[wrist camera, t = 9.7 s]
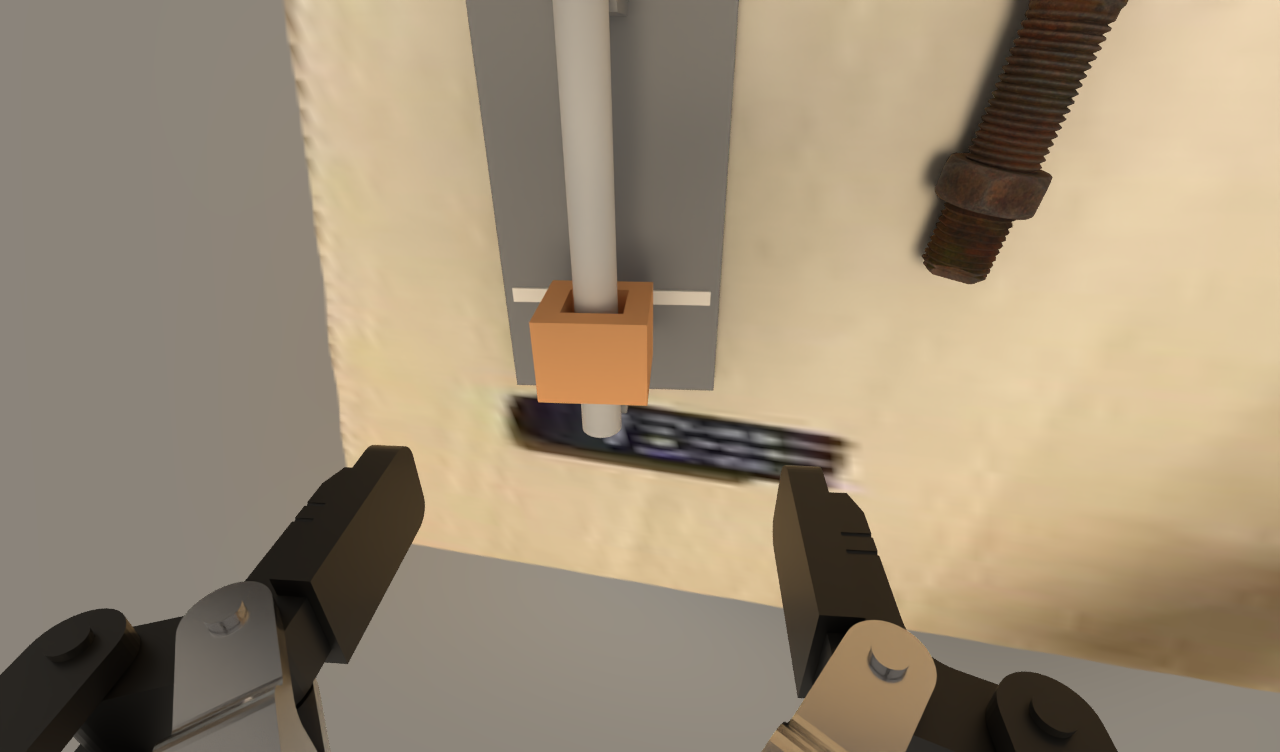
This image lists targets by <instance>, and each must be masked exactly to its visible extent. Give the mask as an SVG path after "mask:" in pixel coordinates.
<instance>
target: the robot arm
mask: <svg viewBox="0 0 1280 752" xmlns="http://www.w3.org/2000/svg"><path fill="white" fill-rule="evenodd" d="M424 511H425V501H424V496H423V492H422V488H421V484H420V480H419V477H418V473H417V469H416V465H415V462H414V458H413V454H412V452H411V450H410V449H409V448H408V447H406V446H385V445H371V446H369V447H368V448H367V449H366V450H365V452H364V453H363V454H362V456H361V457H360V458H359V460H358V461H357V462H356V464H355V465H354V466H353V468H347V467H345V468H343V469H342V470H340V471H339V472H338V473H336V474H335V475H333V476H332V477H331V478H329V479H328V480H327V481H325V482H324V483H322V485H321V486H320V487H319V488H318V490H317V491H316V492H315V493H314V495H313V496H312V497H311V498H310V500H309V501H308V504H307V506H304V507H303V508H302V510H301V511H300V512H299V513H298V515H297V516H296V517H295V522H291V524H290V525H289V526H288V528H287V529H286V530H285V531H284V532H283V534H282V535H281V536H280V537H279V539H278V540H277V541H276V543H275V544H274V545H273V546H272V548H271V549H270V550H269V552H268V553H267V554H266V555H265V557H264V558H263V559H262V560H261V561H260V563H259V564H258V565H257V567H256V568H255V569H254V570H253V572H252V573H251V574H250V575H249V577H248V578H247V579H246V580H245V581H244V582H238V583H233V584H230V585H227V586H224V587H222V588H219V589H217V590H215V591H214V592H212V593H210V594H208V595H207V596H205V597H204V598H202V599H201V600H199V601H198V602H197V603H196V604H195V605H193V607H192V608H191V609H189V610H188V612H187V613H186V614H185V615H184V616H182V617H177V618H172V619H168V620H163V621H158V622H153V623H149V624H144V625H139V626H134V627H132V626H131V624H130V623H129V622H128V620H127V619H126V617H125V616H124V615H123V613H121V612H120V611H118V610H115V609H107V608H106V609H96V610H91V611H87V612H84V613H81V614H78V615H76V616H73V617H71V618H69V619H67V620H65V621H63V622H61V623H59V624H57V625H55V626H54V627H52V628H51V629H49V630H48V631H46V632H45V633H44V634H42V635H41V636H40V637H39V638H37V639H36V640H35V641H34V642H33V643H32V644H31V645H29V647H28V648H27V649H25V651H24V652H23V653H22V654H21V655H20V656H19V657H18V658H17V659H16V660H15V661H14V662H13V663H12V664H11V665H10V666H9V667H8V668H7V669H6V670H5V671H4V672H3V673H2V674H1V675H0V752H61V751H62V750H63V748H64V747H65V746H66V745H67V743H68V742H69V741H70V740H71V739H72V737H74V738H75V739H76V740H77V741H78V742H79V743H80V745H79V747H78V748H77V749H76V750H75V752H331V751H330V746H329V740H328V735H327V729H326V724H325V719H324V713H323V707H322V702H321V696H320V691H319V686H318V682H317V680H316V676H317V674H318V673H319V671H320V669H321V667H322V666H323V664H324V662H327V663H341V664H348V662H349V660H350V659H351V657H352V655H353V653H354V651H355V649H356V647H357V645H358V644H359V641H360V640H361V638H362V636H363V634H364V632H365V630H366V628H367V626H368V625H369V623H370V621H371V619H372V617H373V615H374V613H375V611H376V610H377V608H378V606H379V604H380V602H381V600H382V598H383V596H384V594H385V592H386V591H387V588H388V587H389V585H390V583H391V581H392V579H393V577H394V576H395V574H396V572H397V570H398V568H399V566H400V564H401V562H402V560H403V559H404V557H405V555H406V553H407V551H408V549H409V547H410V545H411V544H412V542H413V540H414V538H415V536H416V534H417V532H418V530H419V528H420V526H421V524H422V521H423V517H424ZM773 546H774V553H775V559H776V565H777V572H778V578H779V584H780V590H781V596H782V603H783V609H784V614H785V621H786V627H787V634H788V640H789V645H790V652H791V658H792V665H793V671H794V677H795V683H796V689H797V695H798V698H805V699H804V700H803V702H802V704H801V705H800V707H799V708H798V710H797V711H796V713H795V715H794V716H793V717H792V719H791V720H790V721H789V722H788V723H786V722H783V723H782V724H781V725H780V726H779V727H778V728H777V730H776V731H775V732H774V734H773V735H772V737H771V738H770V740H769V741H768V743H767V744H766V746H765V748H764V749H763V750H762V752H1118V751H1117V749H1116V748H1115V746H1114V744H1113V742H1112V740H1111V738H1110V736H1109V734H1108V733H1107V731H1106V729H1105V727H1104V725H1103V723H1102V722H1101V720H1100V719H1099V717H1098V715H1097V714H1096V713H1095V711H1094V710H1093V709H1092V708H1091V707H1090V706H1089V704H1088V703H1087V702H1086V701H1085V700H1084V699H1082V698H1081V697H1080V696H1079V695H1078V694H1077V693H1075V692H1074V691H1073V690H1071V689H1070V688H1068V687H1067V686H1065V685H1064V684H1062V683H1060V682H1058V681H1057V680H1054V679H1052V678H1050V677H1047V676H1044V675H1041V674H1038V673H1033V672H1016V673H1013V674H1010V675H1008V676H1006V677H1005V678H1004V679H1003V680H1002V681H1001V682H1000V684H999V685H997V684H994V683H992V682H989V681H986V680H983V679H981V678H978V677H975V676H972V675H969V674H966V673H963V672H961V671H958V670H955V669H953V668H951V667H948V666H946V665H944V664H942V663H941V662H939V661H937V660H936V659H934V658H933V657H931V655H930V653H929V652H928V650H927V649H926V647H925V646H924V645H923V644H922V643H921V642H920V641H919V640H918V639H917V638H916V637H915V636H914V635H912V634H911V633H909V632H908V631H907V630H906V628H905V626H904V624H903V621H902V619H901V616H900V613H899V610H898V607H897V605H896V602H895V599H894V596H893V593H892V591H891V588H890V585H889V582H888V579H887V577H886V574H885V571H884V568H883V565H882V562H881V560H880V557H879V556H878V555H877V548H876V546H875V543H874V540H873V538H871V532H870V529H869V526H868V523H867V520H866V517H865V515H864V512H863V511H862V510H861V509H860V508H859V507H858V505H857V504H856V503H855V502H854V501H853V500H852V499H851V498H850V496H849V495H848V494H847V493H831V492H829V491H828V488H827V484H826V481H825V478H824V474H823V471H822V469H821V468H820V467H812V466H790V465H784V466H783V468H782V471H781V476H780V482H779V488H778V494H777V500H776V506H775V512H774V518H773Z"/></svg>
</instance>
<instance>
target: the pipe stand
mask: <svg viewBox="0 0 1280 752" xmlns="http://www.w3.org/2000/svg"><path fill="white" fill-rule="evenodd" d="M738 4H739V0H466V6H467V14H468V21H469V28H470V36H471V43H472V51H473V58H474V66H475V73H476V80H477V88H478V95H479V103H480V110H481V118H482V125H483V132H484V140H485V147H486V155H487V162H488V170H489V177H490V184H491V192H492V199H493V207H494V214H495V222H496V229H497V236H498V244H499V251H500V259H501V266H502V274H503V281H504V288H505V296H506V303H507V311H508V318H509V326H510V333H511V340H512V348H513V355H514V363H515V370H516V378H517V385H536V379H535V370H534V362H533V353H532V344H531V336H530V327H529V322H530V320H531V318H532V316H533V315H534V313H535V311H536V309H537V307H538V306H539V304H540V302H541V300H542V299H543V297H544V295H545V293H546V291H547V290H548V288H549V286H550V284H551V283H552V281H553V280H569V281H572V283H573V297H574V311H575V313H603V314H618V296H617V281H626V282H653V358H652V367H651V376H650V385H649V389H678V390H712V391H713V388H714V372H715V357H716V342H717V326H718V311H719V296H720V280H721V265H722V250H723V234H724V219H725V204H726V188H727V173H728V158H729V142H730V127H731V112H732V96H733V81H734V66H735V50H736V35H737V20H738ZM581 409H582V423H583V430H584V432H585V433H586V434H588V435H590V436H592V437H597V438H604V437H610V436H612V435H615V434H616V433H618V432H619V431H620V429H621V413H627V409H628V405H610V404H581Z"/></svg>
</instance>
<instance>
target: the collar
mask: <svg viewBox="0 0 1280 752" xmlns="http://www.w3.org/2000/svg"><path fill="white" fill-rule="evenodd" d="M617 296H618V314H603V313H575V311H574V297H573V283H572V281H569V280H553V281H552V283H551V284H550V286H549V288H548V290H547V291H546V293H545V295H544V297H543V299H542V300H541V302H540V304H539V306H538V307H537V309H536V311H535V313H534V315H533V316H532V318H531V320H530V322H529V327H530V336H531V344H532V353H533V362H534V370H535V379H536V388H537V396H538V402H547V403H578V404H610V405H641V406H647V403H648V394H649V385H650V376H651V367H652V358H653V282H626V281H617Z"/></svg>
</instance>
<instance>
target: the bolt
mask: <svg viewBox="0 0 1280 752" xmlns="http://www.w3.org/2000/svg"><path fill="white" fill-rule="evenodd" d="M1127 2H1128V0H1030V3H1029V10H1027V11H1026V14H1025V16H1026V17H1027V20H1023V21H1022V22H1021V25H1022V26H1023V27H1024V29H1021V30H1018V32H1017V34H1018V35H1019V36H1020V38H1017V39H1014V40H1013V42H1014V44H1015V45H1016V47H1013V48H1011V49H1010V50H1009V51H1010V52H1011V54H1012V56H1009V57H1006V60H1007V62H1008V63H1009V64H1008V65H1005V66H1003V67H1002V69H1003V70H1004V71H1005V73H1003V74H1000V75H999V76H998V77H999V78H1000V79H1001V82H998V83H996V84H995V86H996V87H997V88H998V90H995V91H993V92H992V94H993V96H994V97H995V98H992V99H990V100H988V102H989V103H990V105H991V106H989V107H986V108H985V111H986V112H987V114H986V115H983V116H982V117H981V118H982V119H983V121H984V122H982V123H980V124H978V126H979V127H980V129H981V130H978V131H976V132H975V134H976V135H977V138H974V139H972V142H973V143H974V145H972V146H970V147H968V148H969V150H970V151H971V152H970V153H954V154H952V155H951V156H950V157H949V159H948V160H947V162H946V163H945V165H944V167H943V170H942V172H941V175H940V177H939V180H938V182H937V185H936V187H935V192H936V194H937V196H938V197H939V198H940V199H942V200H944V201H946V202H947V203H945V204H944V206H945V207H946V209H944V210H942V211H941V212H942V214H943V215H942V216H940V217H939V218H938V219H939V220H940V222H938V223H936V226H937V227H938V228H936V229H934V230H933V232H934V235H932V236H931V237H930V238H931V240H932V241H931V242H929V243H928V246H929V247H928V248H926V249H925V252H926V253H925V254H923V255H922V257H923V259H924V260H925V261H924V262H923V264H924V265H925V266H926V268H927V269H928V270H929V271H930V272H931V273H932V274H934V275H938V276H941V277H944V278H948V279H951V280H955V281H959V282H963V283H966V284H975V283H977V282H980V281H983V280H985V279H986V277H987V275H986V274H989V273H990V269H989V268H991V267H992V266H993V264H992V262H993V261H996V255H998V254H999V253H1000V252H999V250H998V249H1001V247H1002V246H1003V245H1002V243H1001V242H1004V241H1006V237H1005V235H1008V234H1009V233H1010V232H1009V230H1008V229H1009V228H1011V227H1012V221H1015V220H1026V219H1029V218H1032V217H1033V216H1034V214H1035V212H1036V210H1037V209H1038V207H1039V205H1040V203H1041V201H1042V199H1043V197H1044V195H1045V193H1046V191H1047V189H1048V187H1049V185H1050V183H1051V180H1052V176H1051V175H1050V174H1049V173H1047V172H1045V171H1042V170H1040V169H1041V168H1042V167H1041V165H1040V164H1039V163H1042V162H1045V161H1046V159H1045V158H1044V155H1046V154H1049V153H1050V152H1049V150H1048V149H1047V148H1048V147H1051V146H1053V145H1054V144H1053V142H1052V141H1051V140H1052V139H1054V138H1056V137H1058V135H1057V134H1056V133H1055V131H1057V130H1060V129H1062V127H1061V126H1060V125H1059V123H1061V122H1063V121H1065V120H1066V118H1065V117H1064V116H1063V115H1064V114H1066V113H1069V112H1070V110H1069V109H1068V108H1067V106H1069V105H1072V104H1074V101H1073V100H1072V97H1074V96H1077V95H1078V94H1079V93H1078V92H1077V91H1076V90H1075V89H1077V88H1080V87H1082V84H1081V83H1080V82H1079V80H1081V79H1084V78H1086V77H1087V75H1086V74H1085V73H1084V71H1086V70H1088V69H1091V67H1092V66H1091V65H1090V64H1089V63H1088V62H1091V61H1093V60H1096V58H1097V57H1096V56H1095V55H1094V54H1093V53H1095V52H1097V51H1099V50H1101V49H1102V47H1101V46H1099V45H1098V44H1099V43H1101V42H1103V41H1105V40H1106V37H1104V36H1103V34H1104V33H1106V32H1109V31H1111V29H1112V28H1111V27H1109V26H1108V24H1110V23H1112V22H1114V21H1116V19H1117V17H1118V15H1119V13H1120V11H1121V9H1122V8H1123V7H1124V6H1126V4H1127Z"/></svg>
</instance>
